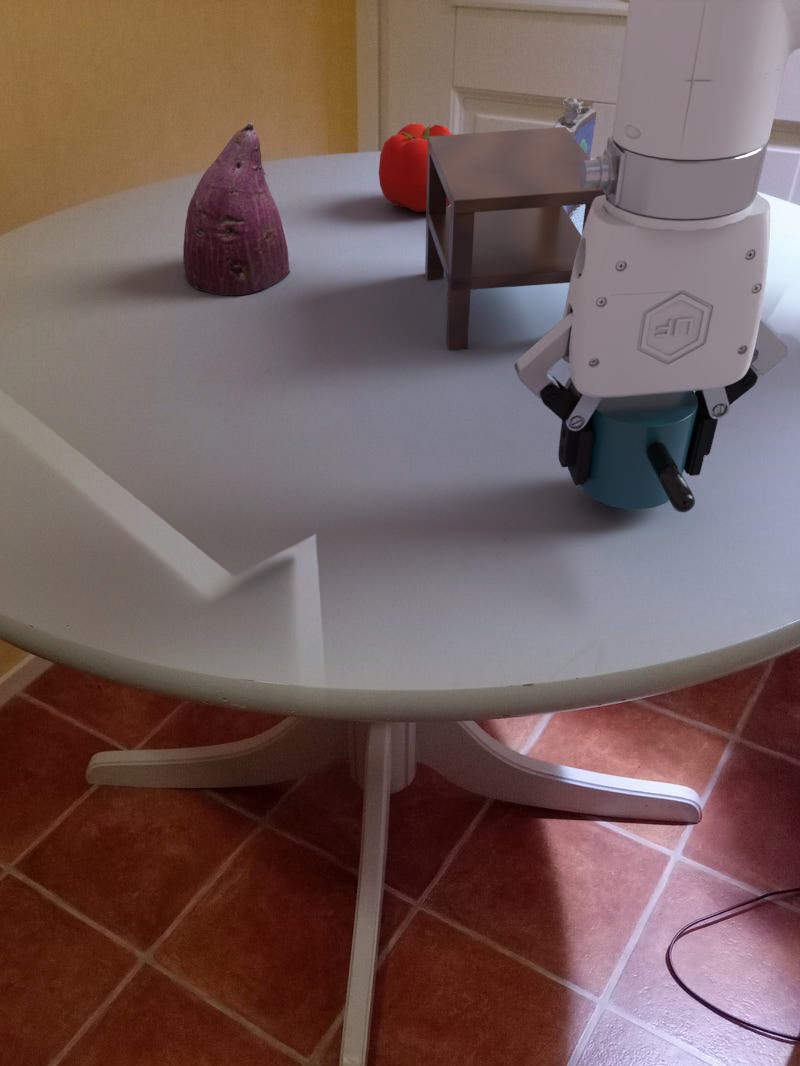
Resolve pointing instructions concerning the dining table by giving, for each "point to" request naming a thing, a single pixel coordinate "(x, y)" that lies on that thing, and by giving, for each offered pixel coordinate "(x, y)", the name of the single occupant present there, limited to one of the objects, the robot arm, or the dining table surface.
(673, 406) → the saucepan
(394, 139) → the red capsicum
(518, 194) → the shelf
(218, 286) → the vegetable
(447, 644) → the dining table surface
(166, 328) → the dining table surface
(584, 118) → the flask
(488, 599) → the dining table surface
